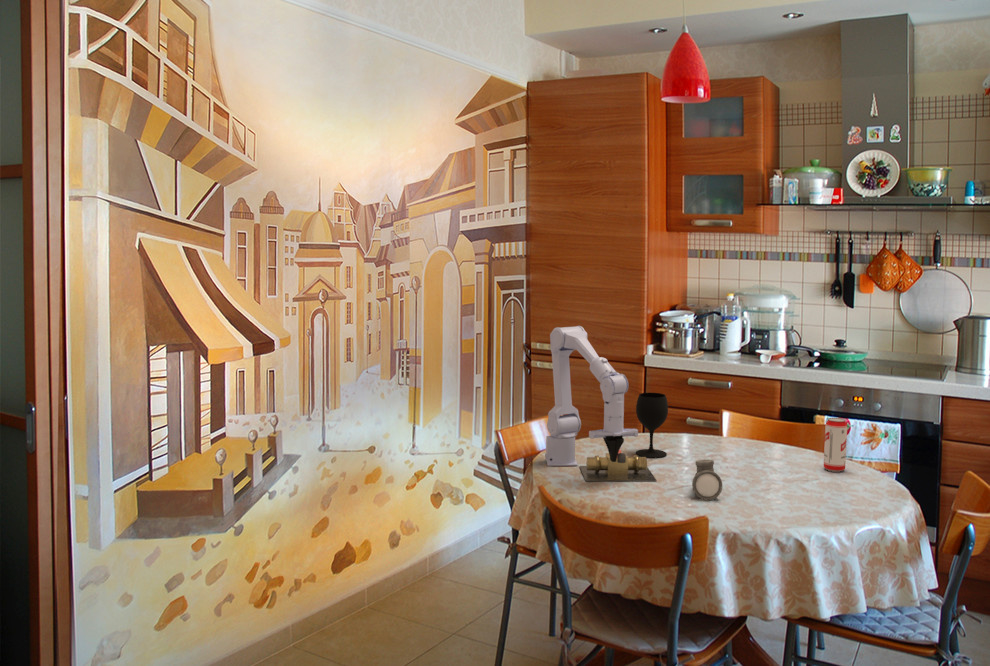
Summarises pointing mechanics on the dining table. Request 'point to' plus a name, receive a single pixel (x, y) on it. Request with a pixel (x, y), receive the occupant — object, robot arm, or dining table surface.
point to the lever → (621, 457)
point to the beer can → (835, 444)
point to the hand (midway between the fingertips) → (613, 461)
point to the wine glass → (651, 419)
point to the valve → (617, 470)
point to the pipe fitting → (706, 480)
